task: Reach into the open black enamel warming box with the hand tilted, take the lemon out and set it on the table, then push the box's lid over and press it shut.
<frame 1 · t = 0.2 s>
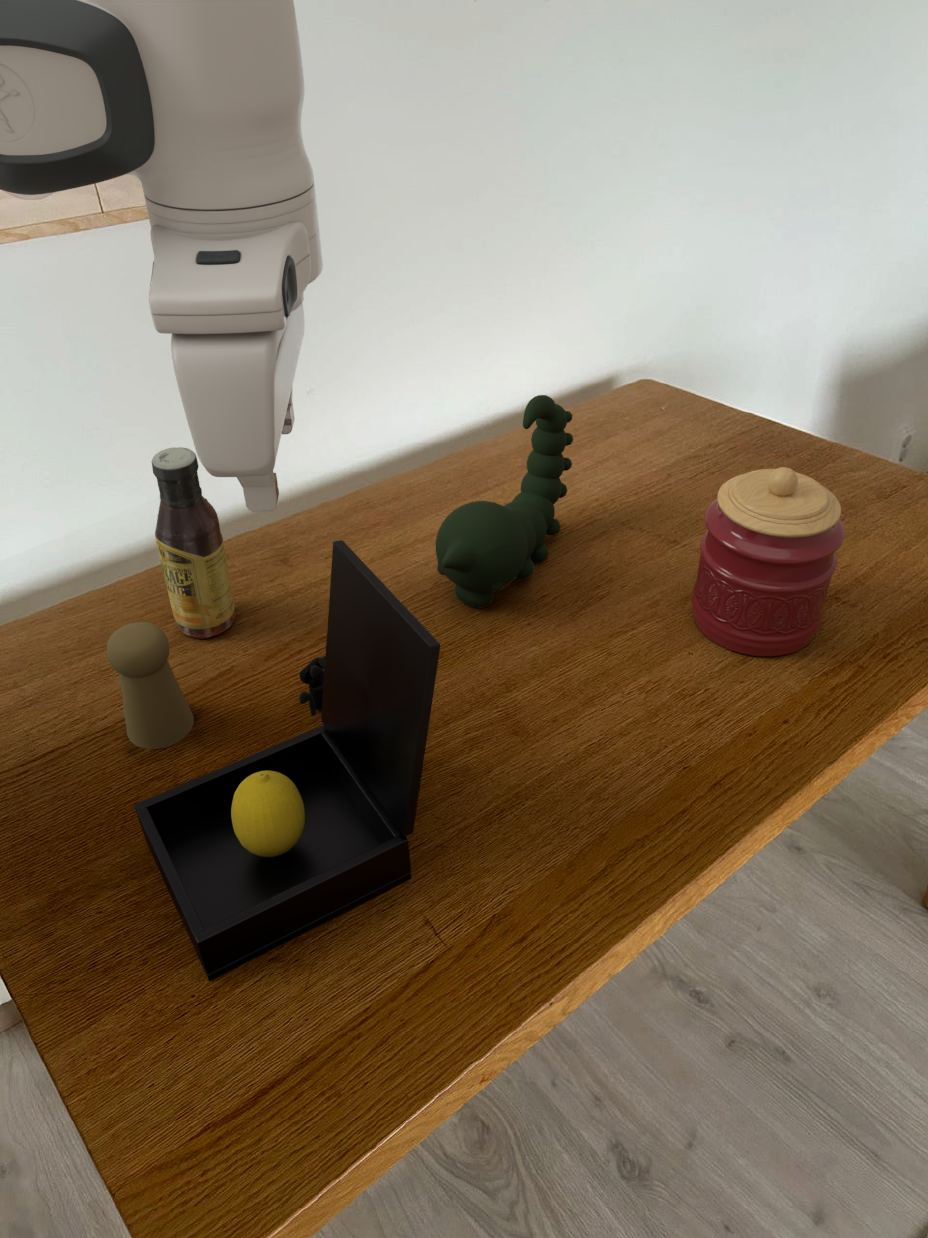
hand: (272, 465, 62), 33 cm above the table, tool pointing down, fingers open, 8 cm apart
cork: (161, 727, 91), on the table
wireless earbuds: (321, 702, 93), on the table
toy figurine: (504, 573, 109), on the table
warmer lid: (373, 687, 74), point 14 cm above the table, hinge at 100.0°
lemon: (275, 854, 78), point 1 cm above the table, touching black box base
sauce bottle: (208, 625, 102), on the table
kitchen canister: (753, 620, 101), on the table
black box base: (276, 860, 78), on the table
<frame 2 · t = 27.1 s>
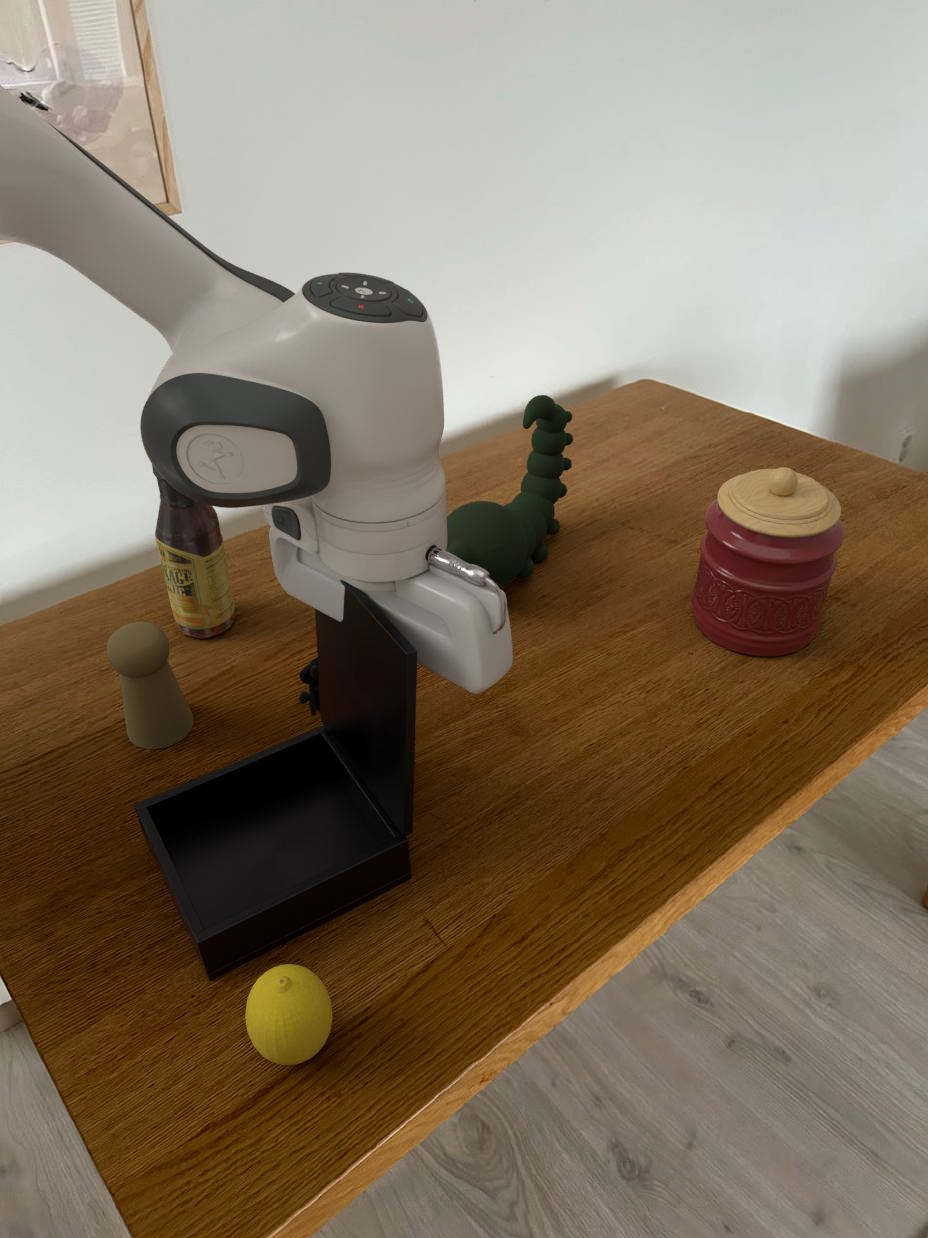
hand: (393, 678, 74), 14 cm above the table, tool pointing down, fingers closed
warmer lid: (362, 690, 73), point 14 cm above the table, hinge at 94.2°, touching gripper
lemon: (297, 1047, 66), on the table
everything else where it was.
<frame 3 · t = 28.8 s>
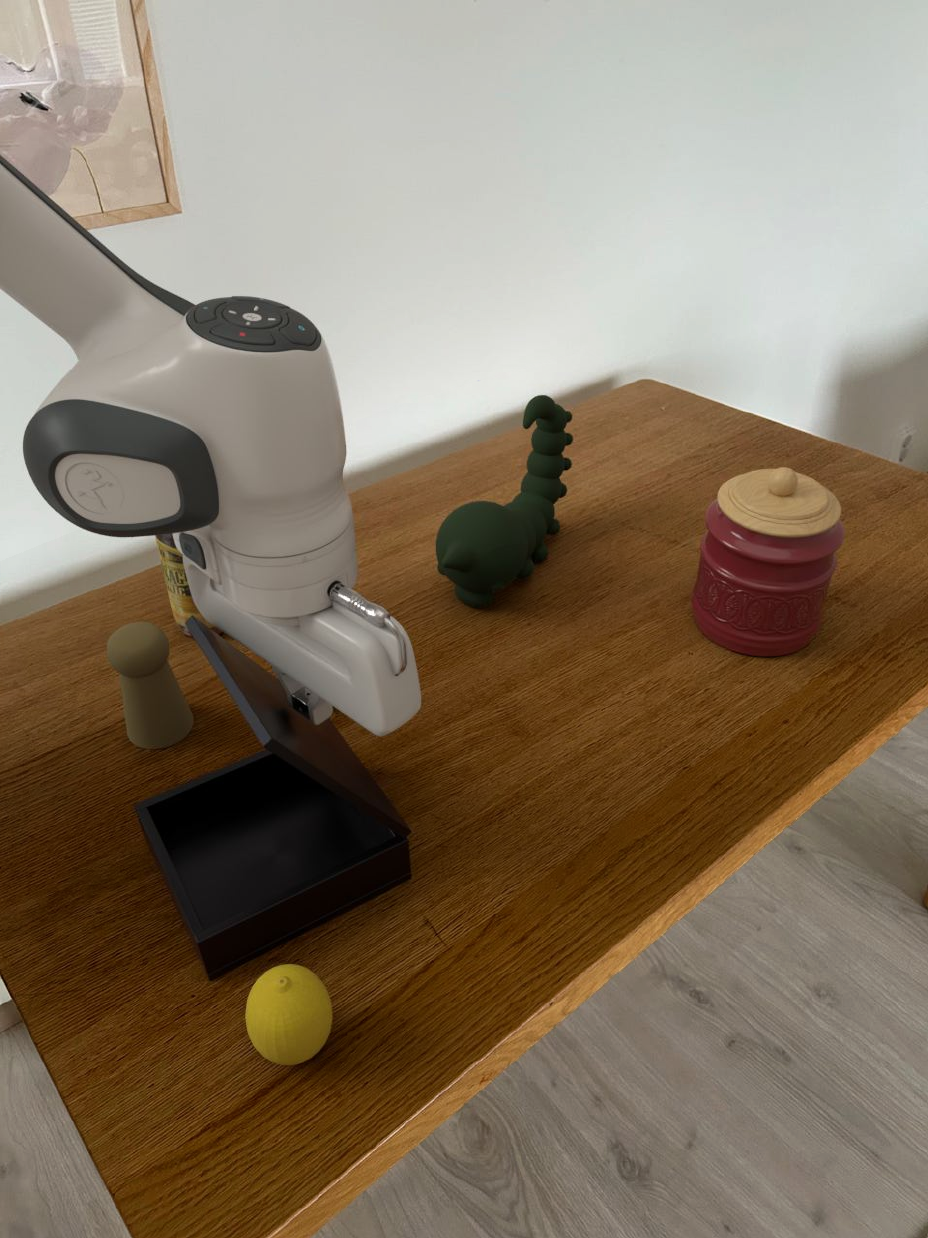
hand: (311, 711, 72), 14 cm above the table, tool pointing down, fingers closed
warmer lid: (300, 729, 72), point 13 cm above the table, hinge at 58.6°, touching gripper
everything else where it was.
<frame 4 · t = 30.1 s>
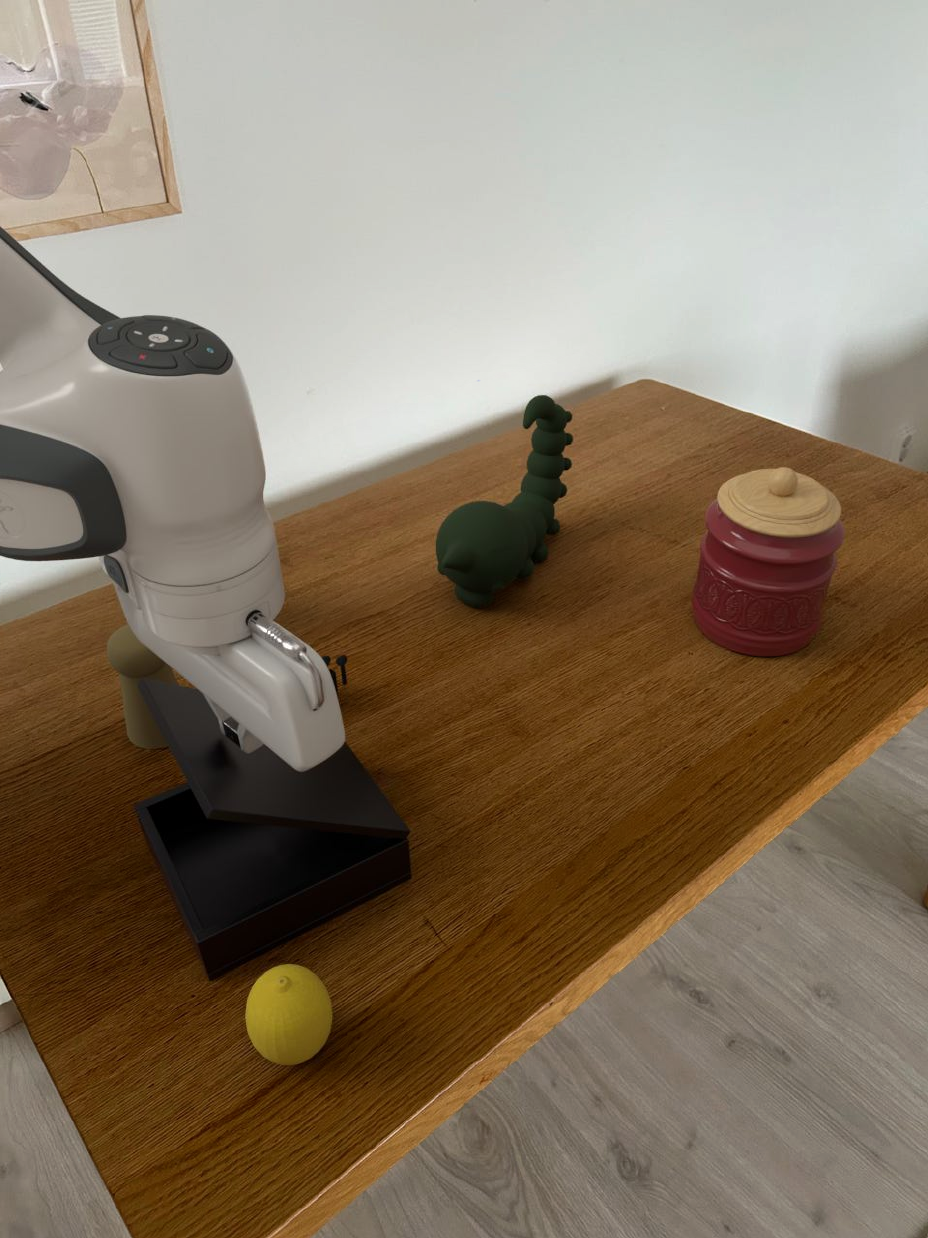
hand: (244, 739, 69), 14 cm above the table, tool pointing down, fingers closed
warmer lid: (276, 759, 72), point 11 cm above the table, hinge at 39.2°
everything else where it was.
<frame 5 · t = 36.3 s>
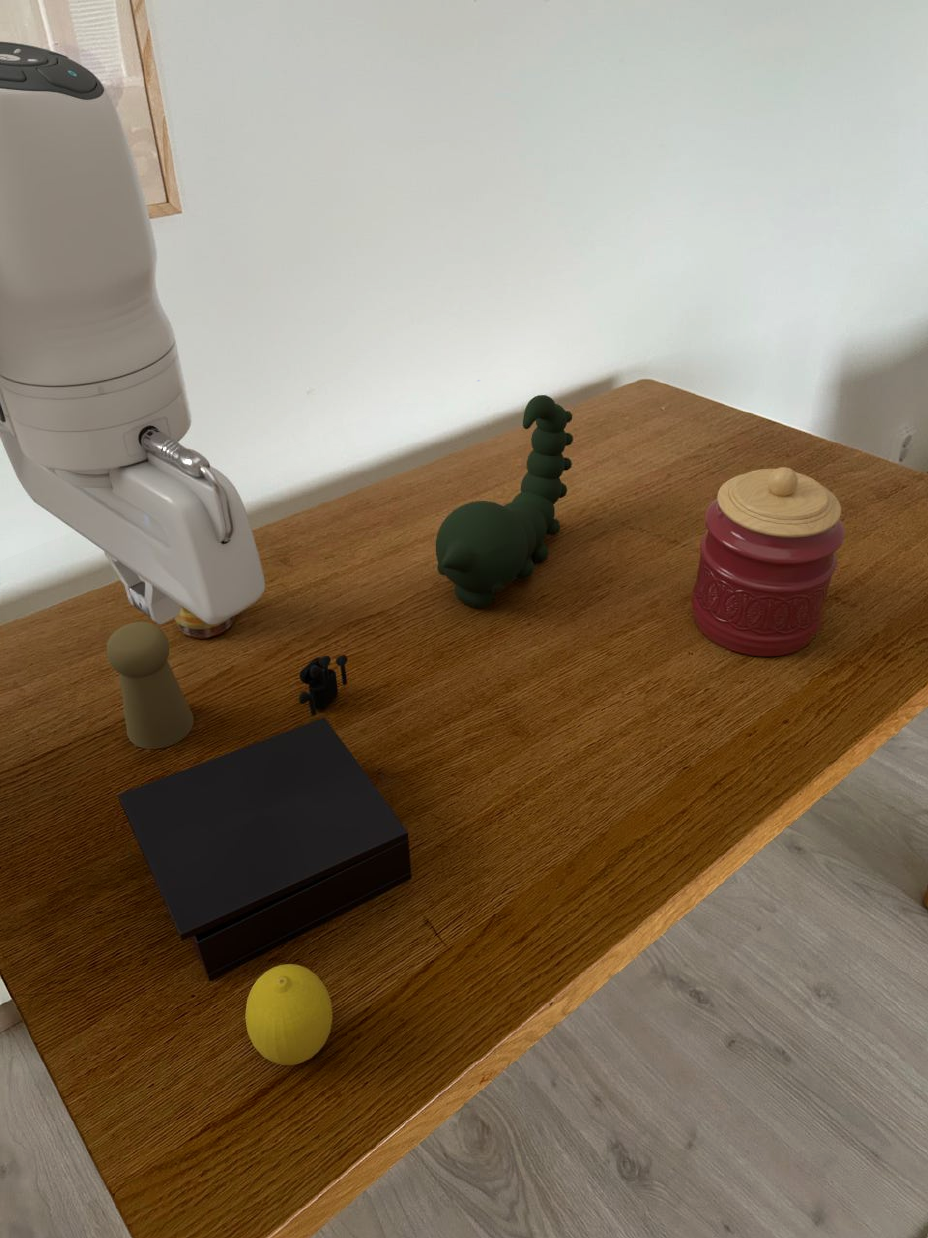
hand: (156, 610, 60), 27 cm above the table, tool pointing down, fingers closed
warmer lid: (261, 816, 75), point 6 cm above the table, hinge at 2.8°
everything else where it was.
at the end: lemon inside the target area (0.0 cm from its centre), on the table; the gripper is holding nothing; warmer lid at +3° (first picture: +100°) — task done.
